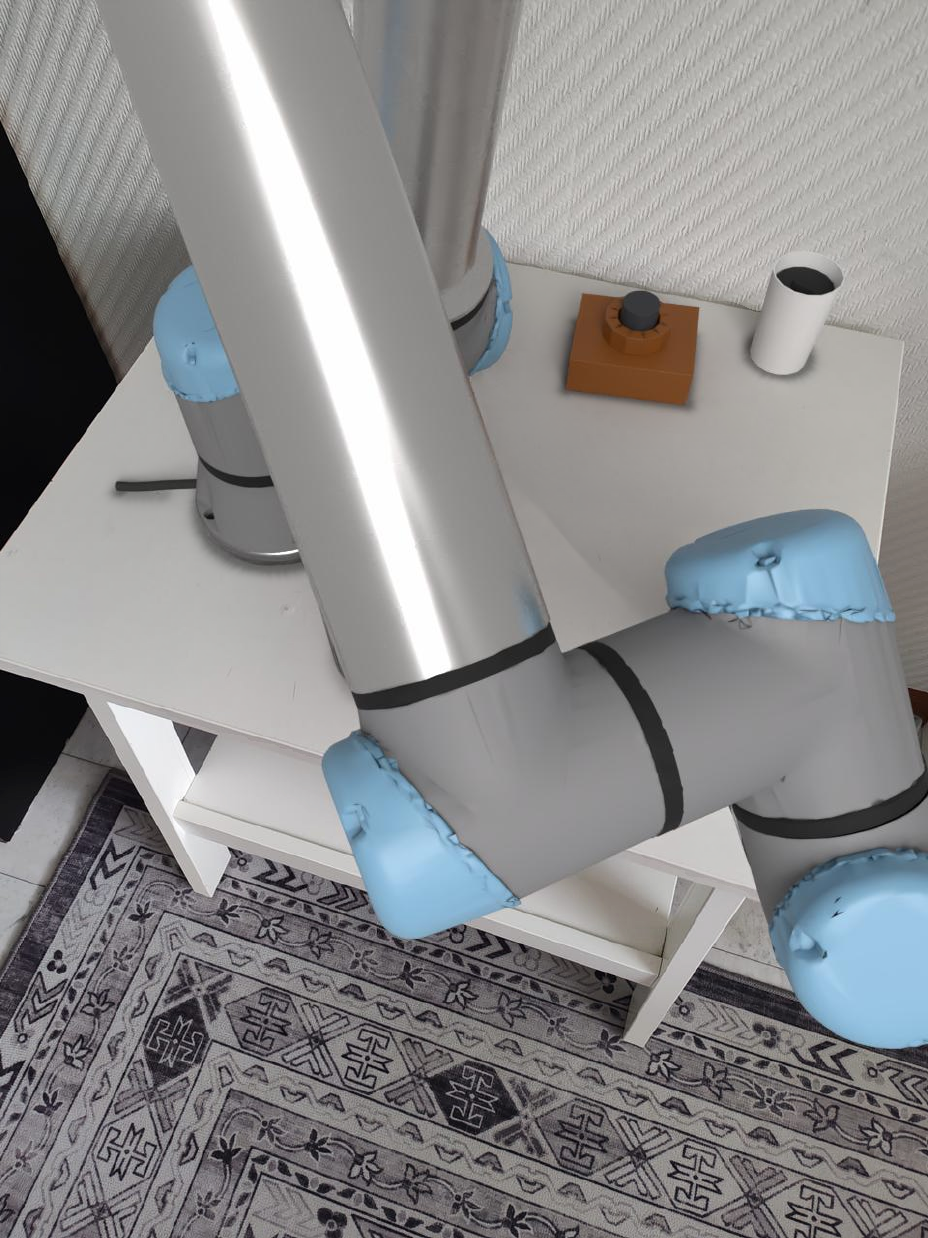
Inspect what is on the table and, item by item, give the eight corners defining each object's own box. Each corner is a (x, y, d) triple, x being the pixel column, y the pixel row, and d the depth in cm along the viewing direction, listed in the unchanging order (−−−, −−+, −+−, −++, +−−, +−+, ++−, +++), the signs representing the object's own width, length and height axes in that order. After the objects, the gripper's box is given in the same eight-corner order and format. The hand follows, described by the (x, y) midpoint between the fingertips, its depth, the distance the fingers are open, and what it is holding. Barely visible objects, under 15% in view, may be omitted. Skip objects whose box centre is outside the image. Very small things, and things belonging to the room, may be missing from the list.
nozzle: (618, 329, 86) (621, 312, 84) (621, 305, 88) (624, 287, 86) (655, 334, 86) (659, 317, 84) (658, 309, 88) (662, 292, 86)
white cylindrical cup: (809, 382, 90) (844, 301, 81) (743, 372, 91) (771, 290, 82) (811, 338, 93) (845, 255, 85) (747, 328, 94) (774, 246, 86)
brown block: (565, 389, 90) (571, 343, 85) (578, 323, 95) (584, 276, 90) (685, 405, 88) (697, 359, 83) (691, 337, 93) (703, 290, 88)
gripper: (551, 814, 48) (565, 694, 68) (1037, 906, 45) (900, 752, 65) (573, 683, 46) (581, 600, 66) (1081, 770, 43) (926, 655, 64)
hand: (739, 675), depth 66 cm, fingers open, 13 cm apart
